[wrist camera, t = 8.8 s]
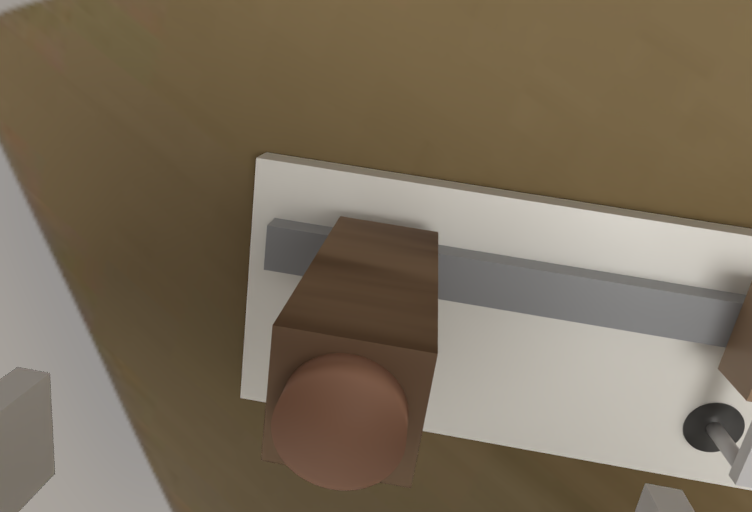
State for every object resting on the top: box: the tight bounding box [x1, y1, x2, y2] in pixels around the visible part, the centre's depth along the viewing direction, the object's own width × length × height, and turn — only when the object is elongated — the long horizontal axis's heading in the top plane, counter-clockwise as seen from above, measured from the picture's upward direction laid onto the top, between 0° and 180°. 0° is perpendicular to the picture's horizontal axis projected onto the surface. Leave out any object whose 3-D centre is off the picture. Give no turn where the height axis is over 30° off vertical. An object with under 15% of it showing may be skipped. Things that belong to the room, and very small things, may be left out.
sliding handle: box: [261, 216, 438, 491], centre depth 20 cm, size 8×4×12 cm, turn 172°
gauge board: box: [240, 152, 752, 490], centre depth 25 cm, size 12×26×5 cm, turn 82°
